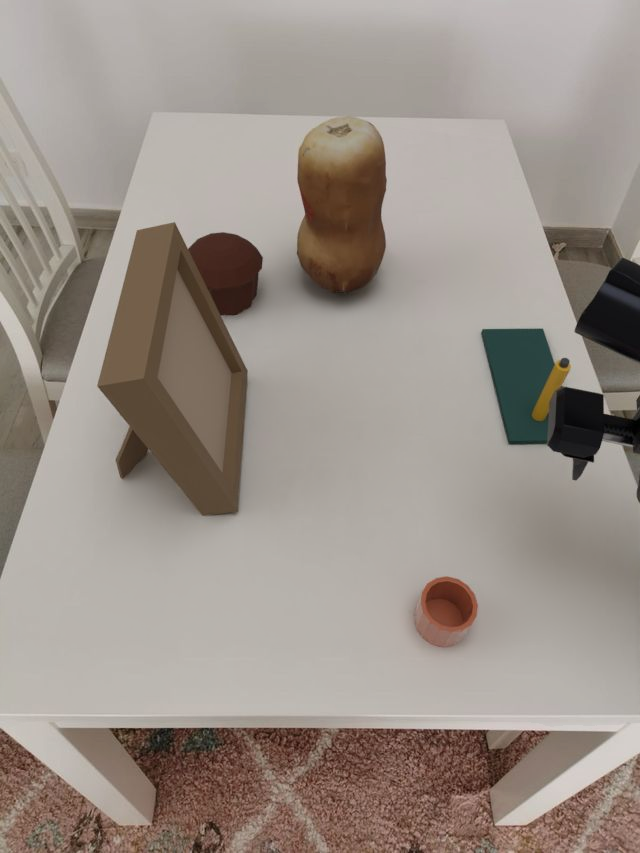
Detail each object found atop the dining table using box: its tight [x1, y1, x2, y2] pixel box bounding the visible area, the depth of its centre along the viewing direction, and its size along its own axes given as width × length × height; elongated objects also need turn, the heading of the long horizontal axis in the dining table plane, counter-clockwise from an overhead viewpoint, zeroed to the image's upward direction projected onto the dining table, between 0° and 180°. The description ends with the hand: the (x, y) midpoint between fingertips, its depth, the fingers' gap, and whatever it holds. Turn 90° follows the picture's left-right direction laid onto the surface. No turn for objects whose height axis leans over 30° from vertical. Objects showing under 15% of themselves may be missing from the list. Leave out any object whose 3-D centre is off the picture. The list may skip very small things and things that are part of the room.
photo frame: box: [96, 221, 249, 517], centre depth 69 cm, size 15×22×25 cm
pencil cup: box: [413, 576, 479, 648], centre depth 64 cm, size 6×6×6 cm
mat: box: [481, 328, 556, 445], centre depth 85 cm, size 20×9×1 cm, turn 1°
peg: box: [532, 357, 572, 421], centre depth 77 cm, size 2×2×11 cm
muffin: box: [187, 231, 264, 317], centre depth 91 cm, size 12×11×10 cm
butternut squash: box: [296, 116, 388, 295], centre depth 88 cm, size 14×13×25 cm
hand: (622, 486), depth 61 cm, fingers open, 9 cm apart
